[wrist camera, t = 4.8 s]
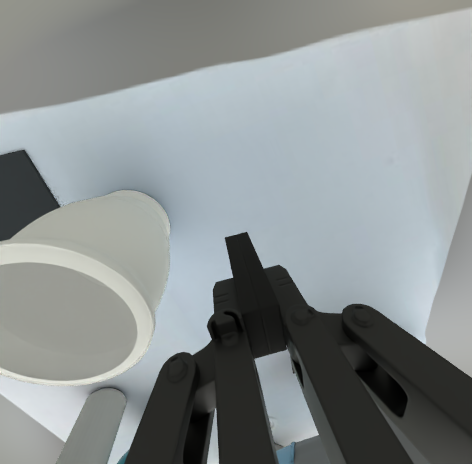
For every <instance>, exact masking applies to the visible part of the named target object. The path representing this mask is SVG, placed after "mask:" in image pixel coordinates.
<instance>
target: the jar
mask: <svg viewBox="0 0 472 464" xmlns="http://www.w3.org/2000/svg"><path fill="white" fill-rule="evenodd" d="M169 235H170V222H169V219H168V216H167V214H166V212H165V210H164V209H163V208H162V206H161V205H160V204H159V203H158V202H157V201H156V200H154V199H153V198H151V197H150V196H148V195H146V194H144V193H141V192H138V191H133V190H120V191H115V192H112V193H110V194H108V195H106V196H100V197H95V198H92V199H87V200H82V201H78V202H74V203H71V204H68V205H65V206H62V207H60V208H57V209H55V210H53V211H51V212H49V213H47V214H45V215H43V216H41V217H40V218H38V219H36V220H35V221H33V222H32V223H30V224H29V225H27V226H26V227H25V228H23V229H22V230H21V231H19V232H18V233H17V234H16V235H14V236H13V237H12V238H11V239H10V240H4V241H0V374H1V375H3V376H6V377H9V378H12V379H16V380H19V381H23V382H28V383H33V384H39V385H48V386H79V385H87V384H93V383H97V382H101V381H105V380H108V379H111V378H113V377H115V376H118V375H120V374H122V373H124V372H125V371H127V370H128V369H130V368H131V367H133V366H134V365H135V364H136V363H137V362H138V361H139V360H140V359H141V358H142V357H143V356H144V354H145V353H146V351H147V350H148V348H149V345H150V343H151V340H152V337H153V334H154V330H155V311H156V310H157V307H158V305H159V303H160V301H161V299H162V296H163V293H164V291H165V287H166V284H167V280H168V275H169V268H170V253H169V249H170V245H169Z"/></svg>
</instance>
